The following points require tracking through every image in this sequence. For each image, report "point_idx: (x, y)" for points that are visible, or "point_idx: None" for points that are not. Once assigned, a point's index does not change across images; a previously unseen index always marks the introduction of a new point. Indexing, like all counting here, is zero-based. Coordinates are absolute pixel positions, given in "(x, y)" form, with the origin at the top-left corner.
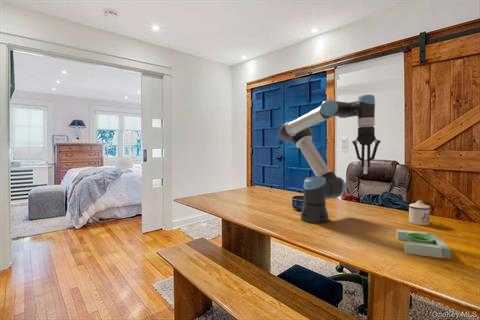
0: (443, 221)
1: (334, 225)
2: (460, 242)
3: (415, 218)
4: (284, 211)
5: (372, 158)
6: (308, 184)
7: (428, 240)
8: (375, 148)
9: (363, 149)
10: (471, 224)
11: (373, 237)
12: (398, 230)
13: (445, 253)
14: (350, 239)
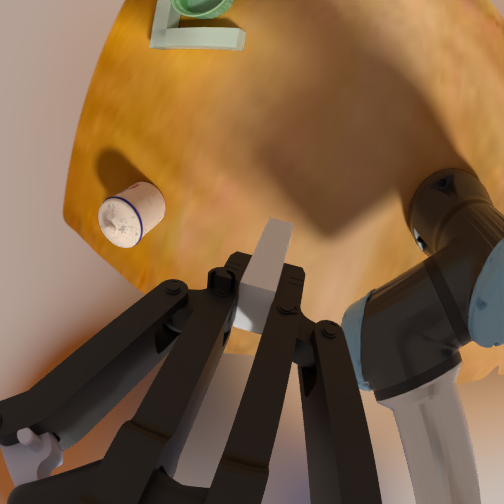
0: None
1: (408, 147)
2: (113, 66)
3: (147, 193)
4: None
5: (177, 288)
6: None
7: (182, 3)
8: (79, 372)
9: (250, 426)
10: (66, 210)
11: (312, 38)
12: (233, 39)
13: None
14: (384, 19)
